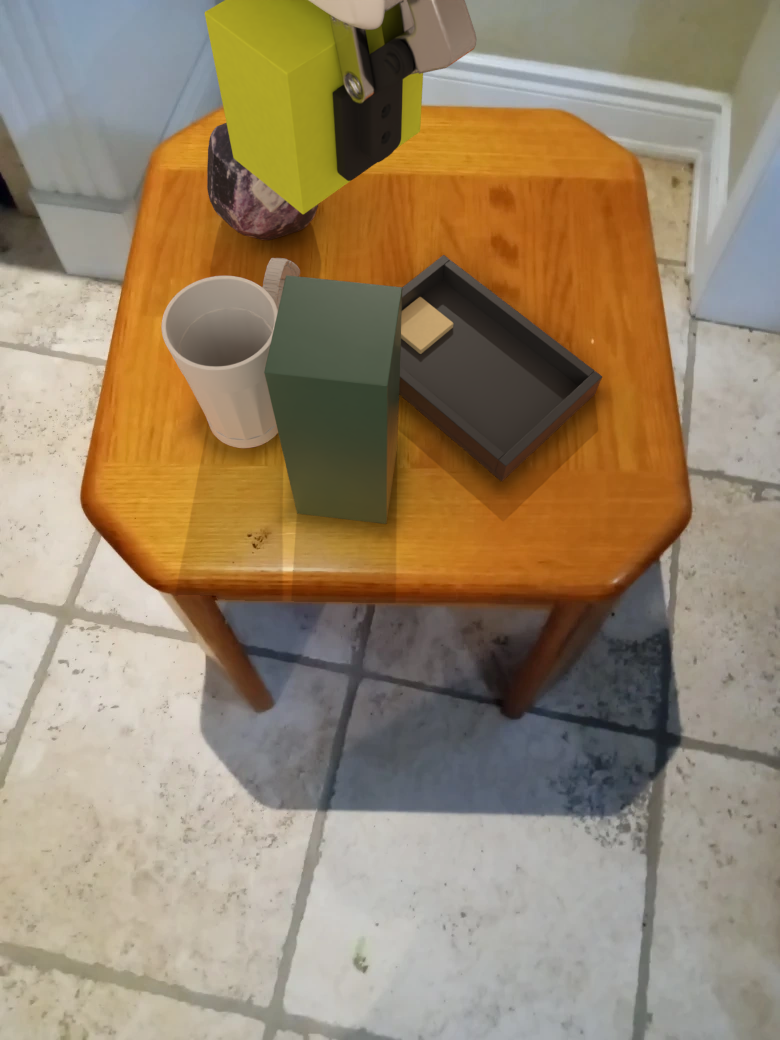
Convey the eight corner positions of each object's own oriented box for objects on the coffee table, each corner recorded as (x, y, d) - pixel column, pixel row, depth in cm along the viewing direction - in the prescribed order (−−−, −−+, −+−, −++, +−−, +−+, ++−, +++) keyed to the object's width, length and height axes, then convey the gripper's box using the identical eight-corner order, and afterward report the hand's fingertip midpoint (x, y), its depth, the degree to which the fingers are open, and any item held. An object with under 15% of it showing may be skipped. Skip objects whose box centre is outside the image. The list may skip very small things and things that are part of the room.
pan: (595, 394, 68) (602, 376, 65) (501, 482, 64) (506, 466, 62) (441, 274, 73) (443, 254, 70) (347, 350, 69) (346, 331, 67)
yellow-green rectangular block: (420, 131, 36) (428, -17, 30) (303, 215, 34) (286, 73, 28) (350, 81, 37) (345, -71, 32) (233, 158, 35) (203, 11, 29)
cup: (266, 471, 65) (243, 386, 54) (179, 434, 66) (138, 344, 55) (312, 394, 68) (299, 298, 57) (228, 360, 69) (199, 260, 58)
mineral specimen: (200, 254, 71) (183, 133, 64) (230, 208, 79) (217, 95, 72) (311, 262, 71) (305, 140, 64) (330, 214, 78) (327, 101, 72)
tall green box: (397, 445, 66) (402, 286, 48) (386, 524, 63) (387, 386, 46) (311, 435, 66) (285, 274, 49) (296, 513, 63) (263, 372, 46)
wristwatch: (303, 290, 72) (298, 249, 67) (289, 335, 70) (282, 297, 65) (271, 284, 72) (264, 244, 68) (256, 329, 70) (247, 291, 66)
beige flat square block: (453, 327, 70) (453, 323, 69) (420, 354, 69) (420, 350, 68) (419, 300, 71) (419, 296, 70) (386, 326, 70) (387, 322, 69)
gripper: (682, -493, 17) (533, 189, 34) (174, -683, 22) (263, -4, 38) (430, -380, 15) (404, 290, 31) (-73, -619, 20) (135, 72, 36)
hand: (326, 124), depth 35 cm, fingers closed on yellow-green rectangular block, 4 cm apart
